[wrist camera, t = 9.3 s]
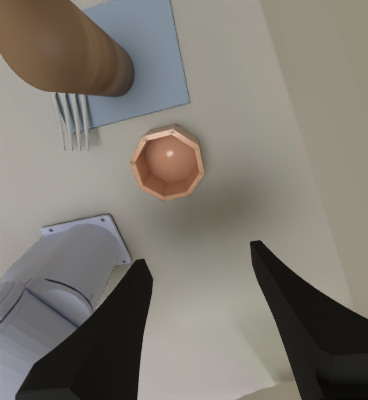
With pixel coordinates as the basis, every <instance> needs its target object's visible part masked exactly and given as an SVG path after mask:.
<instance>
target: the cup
mask: <svg viewBox="0 0 368 400" xmlns="http://www.w3.org/2000/svg"><path fill="white" fill-rule="evenodd" d="M130 163H131V166H132V169H133V172H134V174H135V177H136V180H137V182H138V185H139V188H140V189H142V190H144V191H146V192H148V193H150V194H152V195H153V196H155V197H157V198H159V199H161V200H163V201H165V200H170V199H175V198H180V197H185V196H189V195H190V194H191V192H192V191H193V189H194V188H195V186H196V185H197V184H198V182H199V181H200V179H201V178H202V177H203V175H204V174H205V173H204V169H203V165H202V160H201V155H200V149H199V143H198V140H197V138H196V137H195V136H193V135H191V134H190V133H188V132H187V131H185V130H184V129H182V128H181V127H179V126H178V125H176V124H173V125H169V126H165V127H161V128H157V129H153V130H150V131H149V132H147V133H146V134H145V135H143V136H142V139H141V141H140V143H139V145H138V147H137V149H136V151H135V153H134V155H133V157H132V159H131V161H130Z"/></svg>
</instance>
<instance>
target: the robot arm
mask: <svg viewBox="0 0 368 400" xmlns="http://www.w3.org/2000/svg"><path fill="white" fill-rule="evenodd" d="M102 218H103V219H105V220H103V219H102ZM40 232H41V233H42V235H43V237H42V238H41V239H40V240H39V241H38V242H37V243H36V244H35V245H33V246H32V247H31V248H30V249H29V250H28V251H27V252H26V253H25V254H24V255H23V256H22V257H21V258H20V259H18V260H17V261H16V262H15V263H14V264H13V265H12V266H11V267H10V268H9V269H8V270H7V271H6V272H5V274H4V275H3V277H2V279H1V281H0V400H137V395H138V381H139V369H140V359H141V350H142V342H143V334H144V329H145V324H146V319H147V315H148V310H149V305H150V300H151V295H152V287H153V278H152V275H151V273H150V271H149V269H148V266H147V264H146V262H145V260H144V259H139V260H136V261H135V262H134V263H133V265H132V266H131V267H130V269H129V270H128V271H127V273H126V274H125V276H124V277H123V278H122V280H121V281H120V282H119V284H118V285H117V286H116V287H115V289H114V290H113V291H112V292H111V294H110V295H109V296H108V297H107V299H106V300H105V301H104V302H103V303H102V304H101V305H100V307H99V308H98V309H97V310H96V311H95V309H96V307H97V305H98V302H99V300H100V298H101V295H102V293H103V291H104V289H105V286H106V284H107V282H108V279H109V277H110V275H111V273H112V270H113V268H114V266H117V265H123V264H129V263H131V260H132V259H131V257H130V255H129V253H128V251H127V248H126V246H125V244H124V242H123V240H122V238H121V236H120V234H119V232H118V230H117V228H116V226H115V223H114V221H113V219H112V217H111V216H110V215H108V214H105V215H100V216H95V217H90V218H86V219H81V220H76V221H71V222H66V223H61V224H56V225H51V226H47V227H43V228H41V230H40ZM250 247H251V258H252V266H253V269H254V272H255V275H256V278H257V281H258V283H259V285H260V287H261V290H262V292H263V294H264V296H265V299H266V301H267V303H268V305H269V307H270V310H271V312H272V314H273V317H274V319H275V322H276V324H277V327H278V330H279V333H280V336H281V339H282V341H283V344H284V347H285V350H286V353H287V356H288V359H289V362H290V365H291V368H292V371H293V374H294V377H295V380H296V383H297V386H298V390H299V393H300V396H301V399H302V400H368V319H367V318H365V317H362V316H361V315H359V314H357V313H355V312H353V311H352V310H350V309H348V308H346V307H344V306H343V305H341V304H339V303H338V302H336V301H335V300H333V299H331V298H330V297H328V296H326V295H325V294H323V293H322V292H320V291H319V290H317V289H316V288H314V287H313V286H312V285H310V284H309V283H307V282H306V281H305V280H303V279H302V278H301V277H299V276H298V275H297V274H296V273H294V272H293V271H292V270H291V269H290V268H288V267H287V266H286V265H285V264H284V263H283V262H282V261H281V260H279V259H278V258H277V257H276V256H275V255H274V254H273V253H272V252H271V251H270V250H269V249H268V248H267V247H266V246H265V245H264V244H263V242H262V241H260V240H258V241H251V242H250ZM123 260H124V261H123ZM94 311H95V312H94Z"/></svg>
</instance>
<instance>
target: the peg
mask: <svg viewBox="0 0 368 400" xmlns="http://www.w3.org/2000/svg"><path fill="white" fill-rule="evenodd" d="M0 53H1V55H2V56H3V58H4V60H5V61H6V63H7V64H8V65H9V66H10V68H11V69H12V70H13V71H14V72H15V73H16V74H17V75H18V76H19V77H20V78H21V79H23V80H24V81H25V82H27V83H28V84H30V85H31V86H33V87H35V88H37V89H40V90H43V91H48V92H57V93H69V94H81V95H93V96H105V97H120V96H123V95H125V94H126V93H127V92H128V91H129V90H130V89H131V87H132V85H133V82H134V75H135V73H134V66H133V62H132V60H131V58H130V56H129V54H128V53H127V52H126V51H125V49H124V48H122V47H121V46H120V45H119V44H118V43H117V42H116V41H115V40H114V39H112V38H111V37H110V36H109V35H108V34H107V33H106V32H105V31H104V30H102V29H101V28H100V27H99V26H98V25H97V24H96V23H95V22H93V21H92V20H91V19H90V18H89V17H88V16H87V15H86V14H85V13H83V12H82V11H81V10H80V9H79V8H78V7H77V6H76V5H75V4H73V3H72V2H71V1H70V0H0Z"/></svg>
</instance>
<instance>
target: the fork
mask: <svg viewBox="0 0 368 400" xmlns="http://www.w3.org/2000/svg"><path fill="white" fill-rule="evenodd" d="M58 94H59V96H60V98H61V102H62V105H63V109H64V114H65V120H66V126H67V131H68V137H69V143H70V149H71V151H73V140H72V130H71V124H70V117H69V111H68V104H67V99H66V93H58ZM68 94H69V93H68ZM69 95H70V99H71V103H72V107H73V113H74V120H75V127H76V134H77V141H78V148H79V151H81V134H80V125H79V117H78V108H77V100H76V94H69ZM79 95H80V99H81V105H82V113H83V123H84V133H85V141H86V149H87V151H89V131H88V119H87V107H86V98H85V95H81V94H79ZM50 96H51V99H52V102H53V106H54V110H55V114H56V119H57V123H58V128H59V133H60V138H61V143H62V148H63V151H65V141H64V132H63V127H62V122H61V117H60V112H59V107H58V102H57V98H56V92H50Z"/></svg>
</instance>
